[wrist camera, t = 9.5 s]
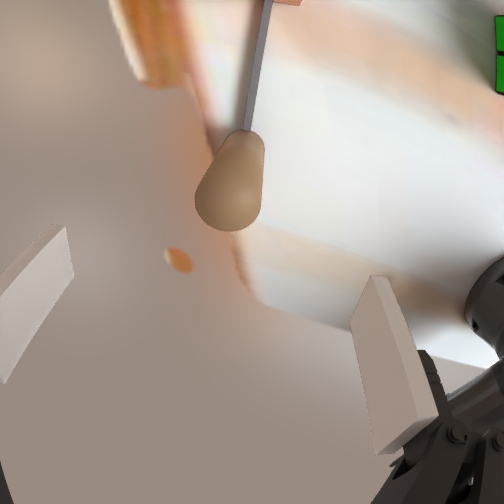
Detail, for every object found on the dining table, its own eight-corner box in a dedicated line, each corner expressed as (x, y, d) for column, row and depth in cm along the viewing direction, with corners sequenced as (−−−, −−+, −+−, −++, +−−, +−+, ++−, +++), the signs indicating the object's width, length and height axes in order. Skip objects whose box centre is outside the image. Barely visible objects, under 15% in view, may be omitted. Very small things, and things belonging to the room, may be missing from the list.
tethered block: (268, 172, 31) (267, 237, 20) (213, 164, 31) (181, 224, 20) (307, -41, 18) (330, -102, 8) (248, -49, 18) (233, -114, 7)
